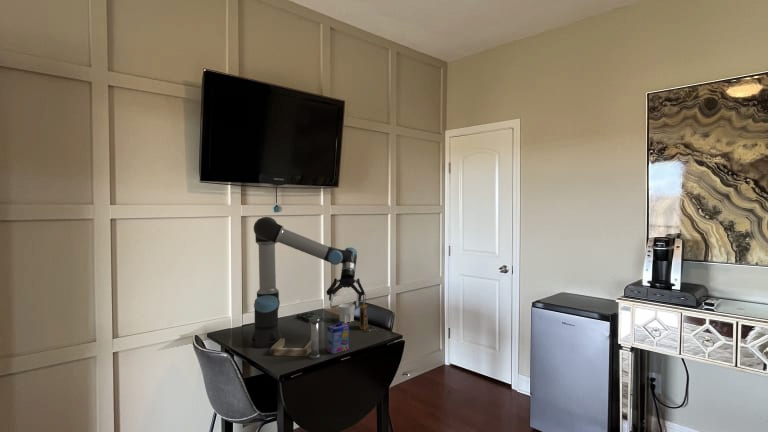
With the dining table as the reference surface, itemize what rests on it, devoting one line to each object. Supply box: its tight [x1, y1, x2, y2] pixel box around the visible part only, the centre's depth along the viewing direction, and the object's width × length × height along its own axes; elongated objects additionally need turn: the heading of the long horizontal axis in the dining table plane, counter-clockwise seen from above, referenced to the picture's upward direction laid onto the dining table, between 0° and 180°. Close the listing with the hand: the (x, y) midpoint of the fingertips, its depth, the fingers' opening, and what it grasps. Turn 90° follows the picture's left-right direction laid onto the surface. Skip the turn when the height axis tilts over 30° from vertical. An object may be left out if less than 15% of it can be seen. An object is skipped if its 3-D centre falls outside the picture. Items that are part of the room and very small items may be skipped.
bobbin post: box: [308, 317, 321, 360], centre depth 191 cm, size 5×5×18 cm
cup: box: [337, 303, 356, 324], centre depth 253 cm, size 10×10×10 cm
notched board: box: [269, 337, 311, 357], centre depth 201 cm, size 18×16×3 cm
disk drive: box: [296, 311, 324, 323], centre depth 259 cm, size 10×3×15 cm
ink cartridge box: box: [326, 321, 350, 355], centre depth 200 cm, size 10×6×14 cm, turn 134°
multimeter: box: [359, 293, 378, 333], centre depth 237 cm, size 15×10×20 cm
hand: (343, 306), depth 212 cm, fingers open, 13 cm apart
